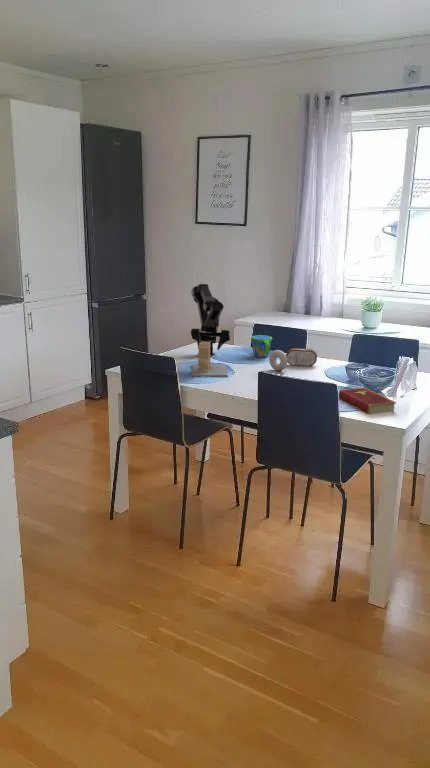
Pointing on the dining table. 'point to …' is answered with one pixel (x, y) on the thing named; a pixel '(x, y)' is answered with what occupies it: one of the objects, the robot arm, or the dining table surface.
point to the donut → (274, 363)
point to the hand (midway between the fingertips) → (208, 349)
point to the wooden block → (204, 356)
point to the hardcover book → (367, 400)
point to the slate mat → (210, 371)
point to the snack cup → (261, 345)
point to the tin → (301, 357)
